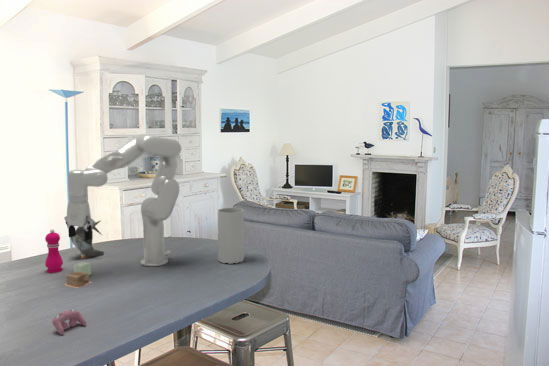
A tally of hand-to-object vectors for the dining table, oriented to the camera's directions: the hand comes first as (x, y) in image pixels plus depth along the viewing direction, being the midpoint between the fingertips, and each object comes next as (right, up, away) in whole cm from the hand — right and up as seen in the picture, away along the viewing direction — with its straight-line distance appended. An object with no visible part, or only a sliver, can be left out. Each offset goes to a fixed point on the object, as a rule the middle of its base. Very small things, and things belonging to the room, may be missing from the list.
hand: (80, 238), depth 216 cm
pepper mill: (-15, -17, +9) cm, 24 cm away
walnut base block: (+2, -18, -8) cm, 20 cm away
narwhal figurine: (-9, -13, +33) cm, 36 cm away
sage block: (0, -16, +2) cm, 17 cm away
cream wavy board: (+2, -18, -3) cm, 19 cm away
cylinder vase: (+63, -14, +29) cm, 70 cm away
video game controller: (+15, -25, -48) cm, 57 cm away
